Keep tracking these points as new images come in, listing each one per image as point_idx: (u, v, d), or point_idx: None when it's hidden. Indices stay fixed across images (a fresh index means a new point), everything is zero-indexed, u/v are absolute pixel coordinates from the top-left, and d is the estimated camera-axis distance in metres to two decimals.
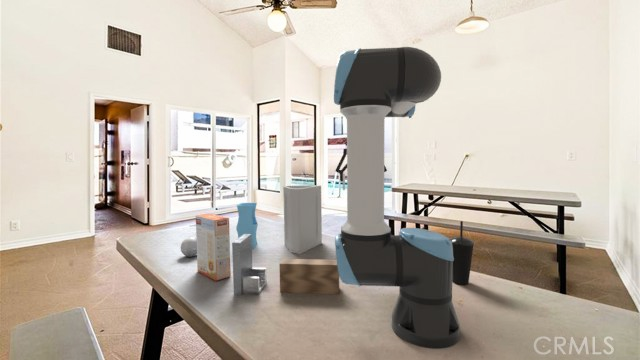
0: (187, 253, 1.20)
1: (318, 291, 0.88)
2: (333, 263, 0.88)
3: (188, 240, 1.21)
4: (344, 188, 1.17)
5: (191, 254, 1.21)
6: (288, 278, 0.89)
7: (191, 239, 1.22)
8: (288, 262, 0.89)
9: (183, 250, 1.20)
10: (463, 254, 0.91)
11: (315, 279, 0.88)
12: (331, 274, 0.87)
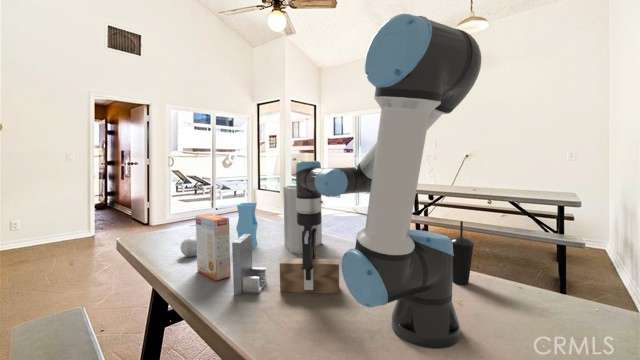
0: (187, 253, 1.20)
1: (318, 290, 0.88)
2: (333, 263, 0.88)
3: (188, 240, 1.21)
4: None
5: (191, 254, 1.21)
6: (288, 277, 0.89)
7: (191, 239, 1.22)
8: (288, 262, 0.89)
9: (183, 250, 1.20)
10: (463, 254, 0.91)
11: (315, 278, 0.88)
12: (331, 273, 0.87)
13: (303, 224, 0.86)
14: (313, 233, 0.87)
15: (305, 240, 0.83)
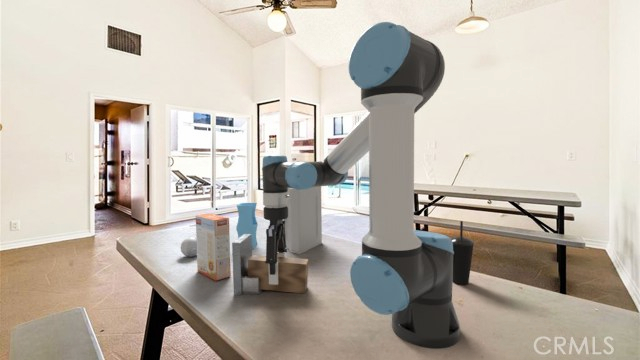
0: (187, 253, 1.20)
1: (285, 289, 0.88)
2: (301, 262, 0.88)
3: (188, 240, 1.21)
4: None
5: (191, 254, 1.21)
6: (255, 274, 0.89)
7: (191, 239, 1.22)
8: (257, 259, 0.90)
9: (183, 250, 1.20)
10: (463, 254, 0.91)
11: (282, 276, 0.88)
12: (298, 272, 0.88)
13: (269, 218, 0.86)
14: (279, 227, 0.88)
15: (269, 232, 0.83)
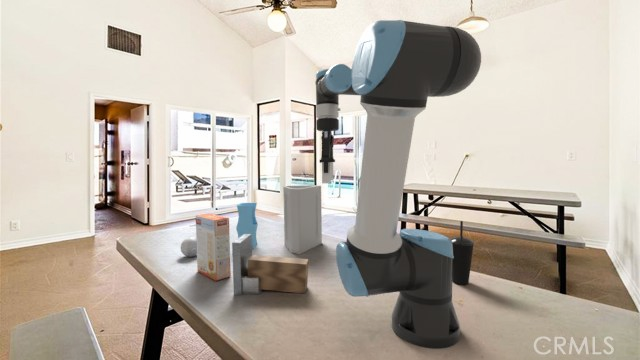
0: (187, 253, 1.20)
1: (285, 289, 0.88)
2: (301, 262, 0.88)
3: (188, 240, 1.21)
4: None
5: (191, 254, 1.21)
6: (255, 274, 0.89)
7: (191, 239, 1.22)
8: (257, 259, 0.90)
9: (183, 250, 1.20)
10: (463, 253, 0.91)
11: (282, 276, 0.88)
12: (298, 272, 0.88)
13: (323, 127, 0.94)
14: (331, 136, 0.96)
15: (325, 133, 0.91)
